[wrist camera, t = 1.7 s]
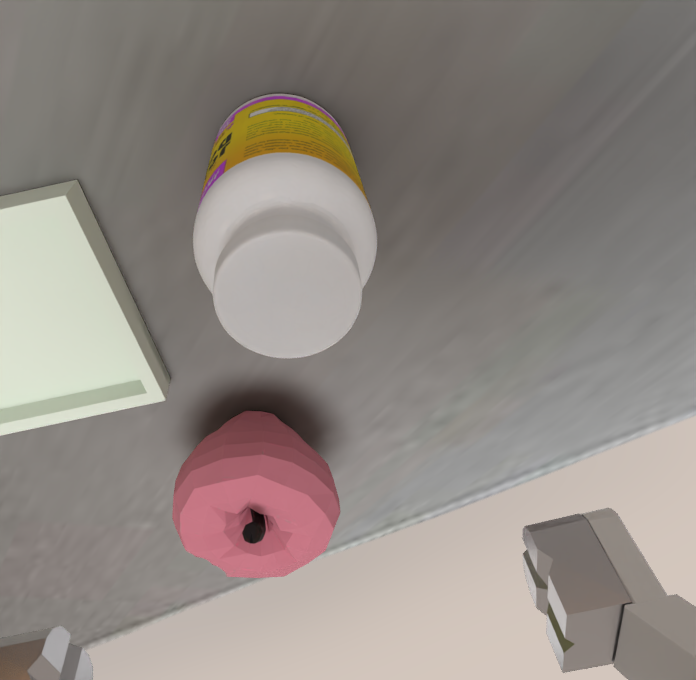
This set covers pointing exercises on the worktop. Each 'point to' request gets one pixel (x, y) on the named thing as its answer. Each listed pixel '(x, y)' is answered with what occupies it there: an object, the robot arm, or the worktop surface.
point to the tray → (67, 317)
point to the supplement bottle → (284, 228)
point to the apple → (255, 499)
